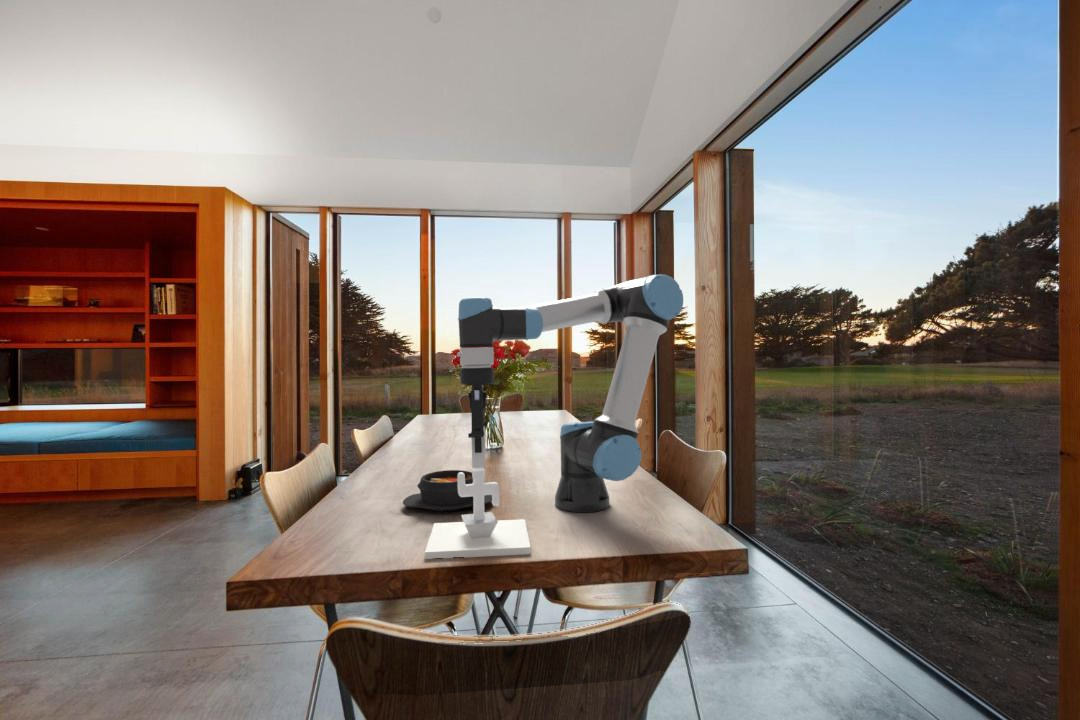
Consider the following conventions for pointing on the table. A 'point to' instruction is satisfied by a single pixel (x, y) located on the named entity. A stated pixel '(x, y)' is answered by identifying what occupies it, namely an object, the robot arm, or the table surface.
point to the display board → (478, 540)
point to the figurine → (478, 503)
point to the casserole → (442, 492)
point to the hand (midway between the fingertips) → (479, 460)
